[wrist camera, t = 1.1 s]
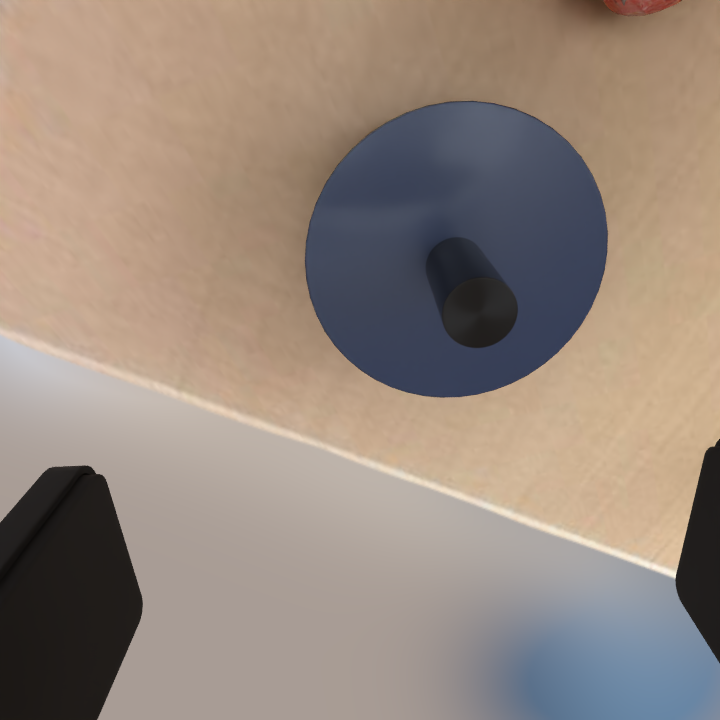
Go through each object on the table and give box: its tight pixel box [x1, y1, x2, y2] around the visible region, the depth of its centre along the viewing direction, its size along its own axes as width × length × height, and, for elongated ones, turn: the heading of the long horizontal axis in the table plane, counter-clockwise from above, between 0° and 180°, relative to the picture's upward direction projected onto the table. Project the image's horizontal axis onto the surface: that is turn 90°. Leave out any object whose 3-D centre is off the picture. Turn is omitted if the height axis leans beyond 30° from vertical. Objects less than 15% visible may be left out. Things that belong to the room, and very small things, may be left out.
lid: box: [305, 101, 608, 397], centre depth 22 cm, size 13×13×7 cm
